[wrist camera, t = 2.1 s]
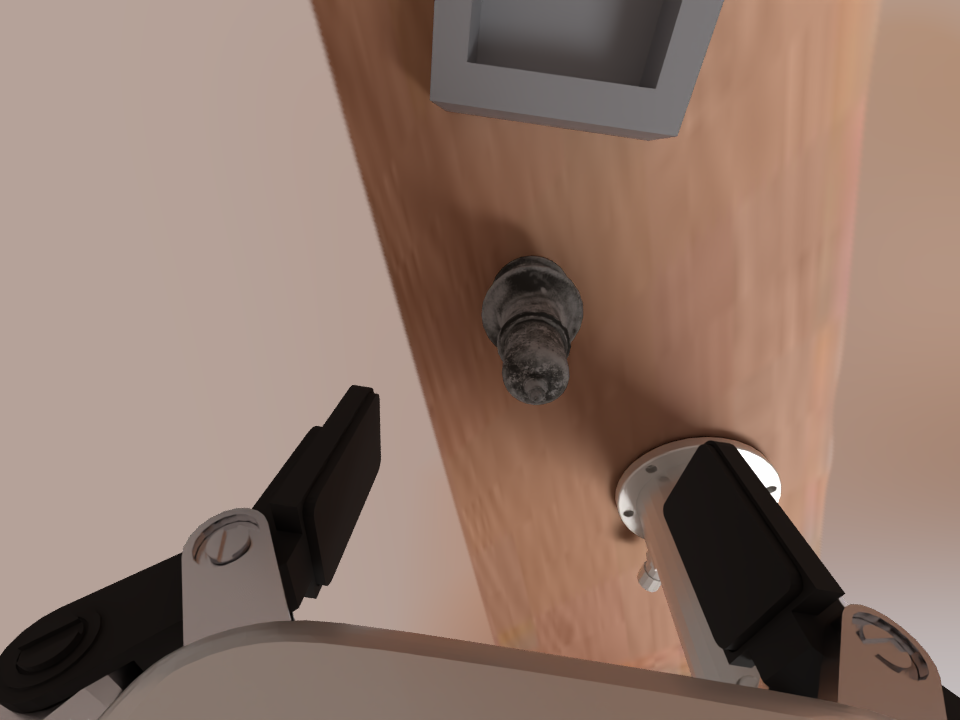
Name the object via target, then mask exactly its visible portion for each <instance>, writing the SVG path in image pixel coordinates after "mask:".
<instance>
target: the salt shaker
mask: <svg viewBox="0 0 960 720" xmlns="http://www.w3.org/2000/svg"><path fill="white" fill-rule="evenodd" d="M582 319H583V303H582V300H581V297H580V294H579V291H578V290H577V288H576V287H575V285H574V284H573V282H572V281H571V280H570V279H569V278H567V276H566V274H565V273H564V271H563V270H562V269H561V268H560V267H559V266H558V265H557V264H556V263H554V262H553V261H551V260H548V259H546V258H544V257H538V256H526V257H520V258H518V259H516V260H513V261H511V262H510V263H508V264H507V265H506V266H504V267H503V268H502V269H501V271H500V272H499V273H498V274H497V276H496V278H495V280H494V282H493V285H492V286H491V287H490V289H489V290H488V292H487V294H486V296H485V299H484V301H483V306H482V321H483V327H484V329H485V331H486V333H487V336H488V338H489V339H490V340H491V341H492V342H493V344H494V345H495V346H496V347H497V348H498V353H499V355H500V357H501V360H502V361H503V368H502V376H503V381H504V384H505V386H506V388H507V390H508V392H509V393H510V394H511V395H512V396H513V397H515V398H516V399H518V400H519V401H522V402H524V403H527V404H533V405H541V404H546V403H549V402H552V401H553V400H555V399H557V398H558V397H559V396H560V395H562V394H563V392H564V391H565V389H566V387H567V384H568V380H569V367H568V362H567V357H568V356H569V352H570V348H571V341H572V340H573V339H574V338H575V336H576V334H577V333H578V331H579V329H580V326H581V323H582Z"/></svg>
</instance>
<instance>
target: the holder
mask: <svg viewBox="0 0 960 720" xmlns="http://www.w3.org/2000/svg"><path fill="white" fill-rule="evenodd" d="M723 2H724V0H435V2H434V23H433V44H432V65H431V86H430V101H432V102H433V103H435V104H436V105H438V106H439V107H441V108H442V109H444V110H445V111H450V112H457V113H463V114H470V115H477V116H484V117H491V118H498V119H504V120H511V121H518V122H525V123H532V124H539V125H545V126H552V127H559V128H566V129H573V130H580V131H586V132H593V133H600V134H607V135H614V136H621V137H627V138H634V139H641V140H648V141H650V140H656V139H663V138H670V137H676V136H678V133H679V130H680V127H681V124H682V121H683V118H684V115H685V112H686V109H687V106H688V104H689V101H690V98H691V95H692V92H693V89H694V86H695V83H696V80H697V77H698V74H699V72H700V69H701V66H702V63H703V60H704V57H705V54H706V51H707V48H708V45H709V42H710V40H711V37H712V34H713V31H714V28H715V25H716V22H717V19H718V16H719V13H720V10H721V8H722V5H723Z"/></svg>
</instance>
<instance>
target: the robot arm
mask: <svg viewBox="0 0 960 720" xmlns="http://www.w3.org/2000/svg"><path fill="white" fill-rule="evenodd" d="M380 450H381V446H380V399H379V394H375V393H374V392H373V389H372V388H369V387H362V386H357V385H352V386H351V387H350V388H349V390H348V391H347V393H346V394H345V395H344V397H343V398H342V399H341V401H340V402H339V404H338V405H337V407H336V408H335V409H334V411H333V412H332V414H331V415H330V417H329V418H328V419H327V421H326V422H325V424H324V425H323V427H320V426H315V427H313V428H312V429H311V430H310V431H309V432H308V433H307V434H306V436H305V437H304V439H303V440H302V441H301V443H300V444H299V445H298V447H297V448H296V449H295V451H294V452H293V453H292V455H291V456H290V458H289V459H288V460H287V462H286V463H285V464H284V466H283V467H282V468H281V470H280V471H279V473H278V474H277V475H276V477H275V478H274V479H273V481H272V482H271V483H270V485H269V486H268V488H267V489H266V490H265V492H264V493H263V494H262V496H261V497H260V498H259V500H258V501H257V502H256V504H255V505H254V507H253V508H252V509H250V508H236V509H232V510H229V511H224V512H222V513H220V514H218V515H216V516H214V517H212V518H210V519H208V520H207V521H206V522H204V523H203V524H201V525H200V526H199V527H198V528H197V529H196V530H195V531H194V532H193V533H192V534H191V535H190V537H189V539H188V540H187V542H186V544H185V545H184V548H183V552H182V553H180V554H178V555H175V556H173V557H171V558H169V559H167V560H164V561H162V562H160V563H158V564H156V565H153V566H151V567H149V568H147V569H144V570H142V571H140V572H138V573H136V574H133V575H131V576H129V577H127V578H125V579H123V580H120V581H118V582H116V583H114V584H112V585H109V586H107V587H105V588H103V589H100V590H98V591H96V592H94V593H92V594H90V595H87V596H85V597H83V598H81V599H78V600H76V601H74V602H72V603H70V604H67V605H65V606H63V607H61V608H59V609H57V610H55V611H53V612H52V613H50V614H48V615H46V616H44V617H42V618H41V619H39V620H38V621H37V622H35V623H34V624H32V625H31V626H30V627H28V628H27V629H26V630H24V631H23V632H22V633H21V634H20V635H19V636H18V637H17V638H16V639H15V640H14V641H13V642H11V643H10V644H9V646H7V647H6V649H5V650H4V651H3V653H2V654H1V655H0V720H960V698H959V697H958V696H956V695H955V694H954V693H952V692H951V691H949V690H948V689H947V688H945V687H944V686H942V685H941V679H940V676H939V673H938V670H937V667H936V665H935V664H934V662H933V661H932V659H931V658H930V656H929V655H928V653H927V652H926V651H925V650H924V648H923V647H922V646H921V645H920V644H919V643H918V642H917V641H916V639H915V638H913V637H912V636H911V635H910V634H909V633H908V632H907V631H906V630H904V629H903V628H902V627H901V626H899V625H898V624H897V623H895V622H894V621H893V620H891V619H890V618H888V617H887V616H885V615H883V614H881V613H880V612H878V611H876V610H874V609H872V608H869V607H866V606H863V605H858V604H850V605H848V604H847V603H846V601H845V600H844V599H843V598H842V596H843V595H844V594H845V593H844V591H843V590H842V589H841V587H840V586H839V585H838V583H837V582H836V581H835V579H834V578H833V577H832V576H831V574H830V572H829V571H828V570H827V569H826V567H825V566H824V564H823V563H822V562H821V560H820V559H819V558H818V556H817V555H816V554H815V552H814V551H813V550H812V548H811V547H810V546H809V544H808V543H807V542H806V540H805V539H804V538H803V536H802V535H801V534H800V532H799V531H798V530H797V528H796V527H795V526H794V524H793V523H792V522H791V520H790V519H789V518H788V516H787V515H786V514H785V512H784V511H783V510H782V508H781V507H780V506H779V504H778V501H779V498H780V495H781V481H780V478H779V475H778V473H777V471H776V470H775V468H774V467H773V466H772V464H771V463H770V462H769V461H768V460H767V459H766V458H765V456H764V455H763V454H762V453H760V452H759V451H757V450H756V449H754V448H753V447H751V446H749V445H746V444H744V443H741V442H739V441H735V440H730V439H725V438H715V437H700V438H688V439H684V440H679V441H675V442H671V443H668V444H665V445H663V446H660V447H657V448H655V449H653V450H652V451H650V452H648V453H646V454H644V455H643V456H641V457H640V458H639V459H637V460H636V461H634V462H633V463H632V464H631V465H630V466H629V467H628V468H627V469H626V471H625V472H624V473H623V475H622V476H621V478H620V480H619V482H618V485H617V488H616V494H615V501H616V505H617V509H618V513H619V515H620V517H621V520H622V521H623V523H624V524H625V525H626V526H627V528H628V529H630V530H631V531H632V532H633V533H634V534H636V535H637V536H639V537H641V538H643V539H645V542H646V545H647V548H648V551H647V553H646V557H647V561H646V562H644V564H643V566H642V567H641V569H640V571H639V572H638V575H637V579H638V582H639V583H640V585H641V586H642V587H643V588H644V589H645V590H647V591H650V592H655V591H657V590H658V588H659V587H660V585H662V588H663V591H664V594H665V597H666V600H667V603H668V606H669V609H670V612H671V615H672V618H673V621H674V624H675V627H676V630H677V633H678V636H679V639H680V642H681V645H682V648H683V651H684V654H685V657H686V660H687V663H688V666H689V669H690V672H691V675H692V677H689V676H683V675H677V674H671V673H665V672H659V671H653V670H646V669H640V668H634V667H628V666H621V665H615V664H609V663H603V662H597V661H590V660H584V659H578V658H572V657H565V656H559V655H553V654H546V653H540V652H534V651H528V650H521V649H515V648H508V647H502V646H495V645H489V644H482V643H476V642H470V641H463V640H457V639H450V638H444V637H437V636H431V635H424V634H418V633H411V632H404V631H396V630H389V629H381V628H374V627H367V626H359V625H351V624H344V623H332V622H320V621H307V620H304V621H295V619H294V615H293V611H295V610H296V609H298V608H299V606H300V604H301V602H302V600H303V598H304V597H308V598H315V599H316V598H317V596H318V594H319V591H320V589H321V587H322V585H325V586H328V585H329V584H330V582H331V581H332V578H333V576H334V574H335V572H336V569H337V567H338V565H339V562H340V560H341V558H342V555H343V553H344V550H345V548H346V546H347V543H348V541H349V539H350V536H351V534H352V532H353V529H354V527H355V525H356V522H357V520H358V518H359V515H360V513H361V510H362V508H363V506H364V504H365V501H366V499H367V496H368V494H369V492H370V489H371V487H372V485H373V483H374V480H375V478H376V475H377V473H378V470H379V467H380V462H381V451H380Z"/></svg>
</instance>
